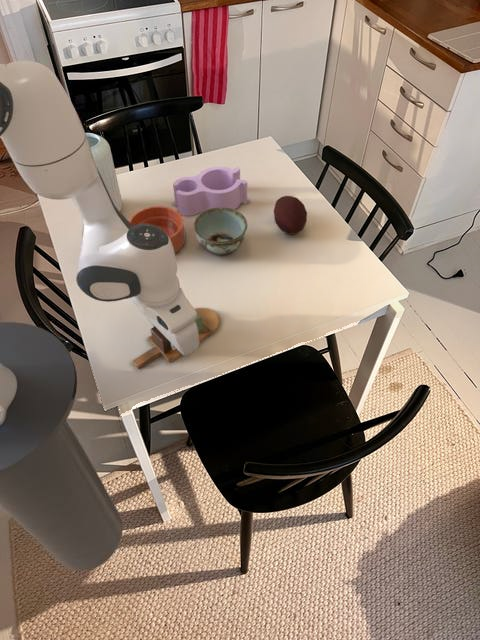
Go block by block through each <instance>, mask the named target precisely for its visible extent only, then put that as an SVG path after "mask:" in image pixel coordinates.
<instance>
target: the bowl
mask: <svg viewBox="0 0 480 640" xmlns="http://www.w3.org/2000/svg"><path fill="white" fill-rule="evenodd" d="M193 228H194V232H195V235H196V239H197V241H198V243H199V244H200V245H201V246H202V247H203V248H204V249H205V250H207V251H208V252H210V253H213V254H215V255H216V256H217V255H218V256H225V255H228V254H230V253H233V252H234V251H236V250H237V249H238V248H240V246H241V245H242V243H243V241H244V240H245V237H246V232H247V230H248V220H247V218H246V217H245V215H243V213H241V212H240V211H238V210H237V209H235V210H234V209H231V208H225V207H218V208H212V209H208V210H206V211H204V212H200V213H199V214H198V215H197V216H196V217H195V220H194V222H193Z"/></svg>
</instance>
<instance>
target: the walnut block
mask: <svg viewBox="0 0 480 640" xmlns="http://www.w3.org/2000/svg"><path fill="white" fill-rule="evenodd" d="M149 330H150V332H151V333H150V334H151V336H152V339H153V342H154V343H155V344H156V345H157V346H158V347H159V348H160V349H161V350H162V351H163V353H164V354H166V353H167V352H169V351H170V350H172V348H171V347H170V346H169V343H168V342H169V340H168V339H167V338H166V337H165V336H164V335H163V334H162V333H161V332H160V331H159V330H158V329H157V328H156V327H153V326H152V328H150V329H149Z"/></svg>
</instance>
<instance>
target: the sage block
mask: <svg viewBox="0 0 480 640" xmlns="http://www.w3.org/2000/svg"><path fill="white" fill-rule="evenodd" d="M196 313H197V312H196ZM194 321H195V323H196V325H197V328H198V332H200V331H201V330H203V326H202V317H201V316H200V315H199V314H198V313H197V318H196V319H195V320H194Z"/></svg>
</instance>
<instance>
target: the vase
mask: <svg viewBox="0 0 480 640" xmlns="http://www.w3.org/2000/svg"><path fill="white" fill-rule="evenodd" d="M85 134H86V136H87V139H88V142H89V145H90V148H91V151H92V154H93V157H94V161H95V164H96V167H97V169H98V171H99V173H100V175H101V177H102V179H103V181H104V183H105V186H106V188H107V190H108V192H109V194H110V197H111V199H112V201H113V203H114V205H115V206H116V208H117V209H118V211H119V212H120V213H121V211H122V208H123V200H122V195H121V191H120V186H119V181H118V176H117V172H116V168H115V163H114V159H113V154H112V151H111V146H110V144H109V142H108V141H107V140H106V139H105V138H104V137H103V136H101V135H98V134H95V133H91V132H85Z"/></svg>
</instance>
